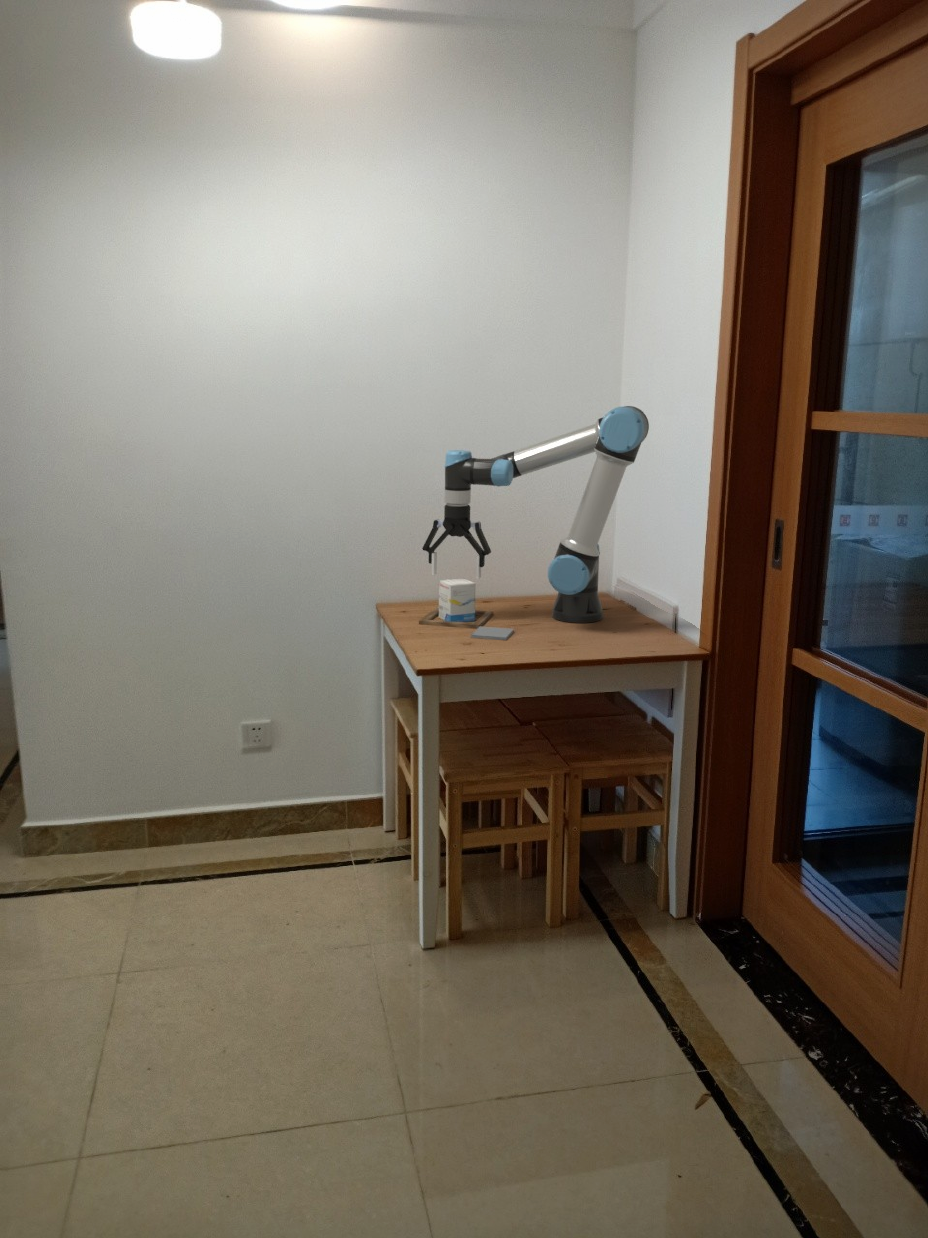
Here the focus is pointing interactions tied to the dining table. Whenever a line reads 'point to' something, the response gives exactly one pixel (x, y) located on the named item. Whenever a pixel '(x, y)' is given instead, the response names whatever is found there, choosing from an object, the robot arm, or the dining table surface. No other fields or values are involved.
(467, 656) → the dining table surface
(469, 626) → the pocket frame
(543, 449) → the robot arm
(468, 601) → the ink box
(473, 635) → the coaster
